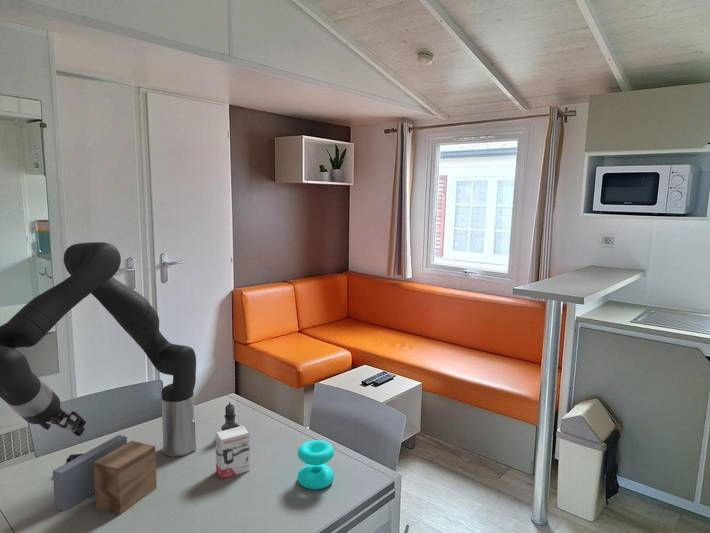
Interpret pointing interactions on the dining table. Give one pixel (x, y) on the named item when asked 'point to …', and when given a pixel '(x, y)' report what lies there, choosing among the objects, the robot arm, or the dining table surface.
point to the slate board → (80, 474)
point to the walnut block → (125, 477)
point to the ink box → (232, 452)
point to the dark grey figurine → (229, 418)
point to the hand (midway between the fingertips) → (64, 429)
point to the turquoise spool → (315, 464)
